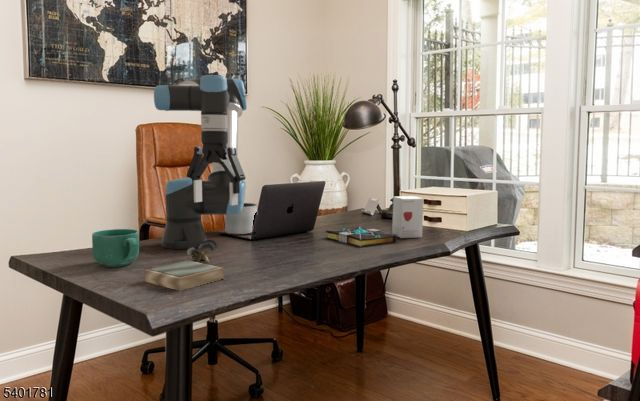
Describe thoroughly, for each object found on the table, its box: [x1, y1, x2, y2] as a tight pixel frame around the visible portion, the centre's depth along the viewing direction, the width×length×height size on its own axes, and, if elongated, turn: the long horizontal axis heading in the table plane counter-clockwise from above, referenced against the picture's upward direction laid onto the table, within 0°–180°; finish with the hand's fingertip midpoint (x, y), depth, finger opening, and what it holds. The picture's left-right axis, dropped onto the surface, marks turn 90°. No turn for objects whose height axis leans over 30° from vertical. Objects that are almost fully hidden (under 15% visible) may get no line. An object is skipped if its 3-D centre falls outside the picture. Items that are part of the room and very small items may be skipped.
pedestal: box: [144, 260, 225, 292], centre depth 137 cm, size 14×14×3 cm
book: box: [325, 226, 398, 248], centre depth 195 cm, size 22×17×5 cm
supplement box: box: [391, 195, 424, 239], centre depth 204 cm, size 9×9×15 cm
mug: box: [91, 228, 140, 268], centre depth 153 cm, size 17×13×10 cm
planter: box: [224, 202, 258, 235], centre depth 209 cm, size 12×13×11 cm
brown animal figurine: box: [186, 239, 218, 264], centre depth 158 cm, size 8×7×9 cm
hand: (215, 203), depth 157 cm, fingers open, 13 cm apart
